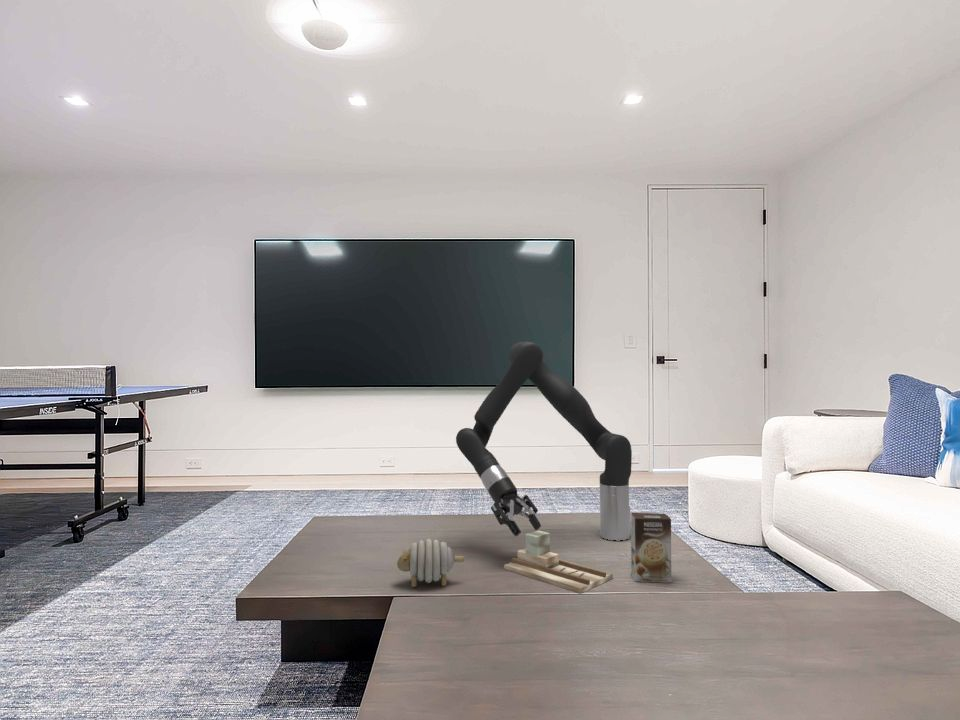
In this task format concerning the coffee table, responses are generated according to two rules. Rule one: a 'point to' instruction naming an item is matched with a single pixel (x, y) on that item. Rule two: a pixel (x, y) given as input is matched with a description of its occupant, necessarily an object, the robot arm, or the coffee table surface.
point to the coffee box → (651, 547)
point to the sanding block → (538, 550)
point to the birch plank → (561, 574)
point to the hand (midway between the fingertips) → (528, 531)
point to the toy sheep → (428, 561)
